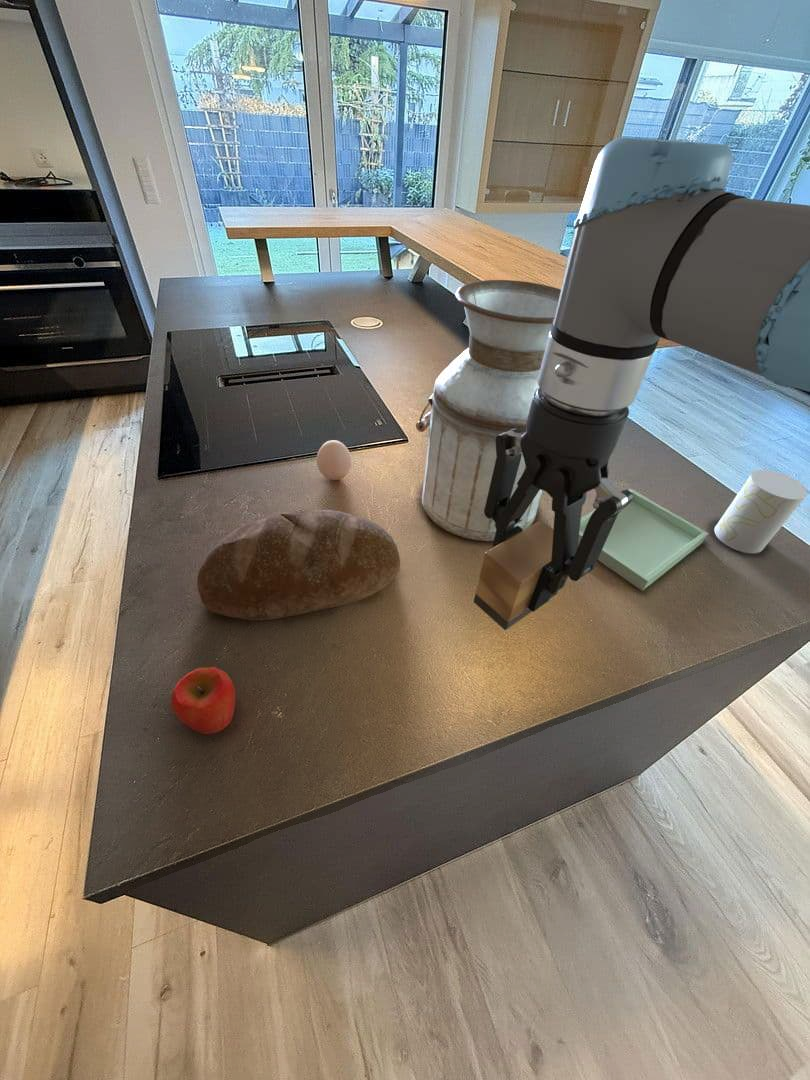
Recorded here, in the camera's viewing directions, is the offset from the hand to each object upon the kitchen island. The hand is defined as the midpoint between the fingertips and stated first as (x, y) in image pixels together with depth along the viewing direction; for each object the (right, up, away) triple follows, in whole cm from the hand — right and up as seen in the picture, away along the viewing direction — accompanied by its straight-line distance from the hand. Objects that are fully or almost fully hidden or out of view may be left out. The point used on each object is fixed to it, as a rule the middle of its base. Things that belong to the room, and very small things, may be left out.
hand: (518, 587), depth 52 cm
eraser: (0, -1, +1) cm, 2 cm away
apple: (-35, -16, +2) cm, 39 cm away
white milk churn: (+1, +12, +35) cm, 37 cm away
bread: (-28, -1, +18) cm, 34 cm away
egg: (-27, +18, +39) cm, 50 cm away
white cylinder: (+48, +6, +31) cm, 57 cm away
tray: (+28, +6, +29) cm, 41 cm away
